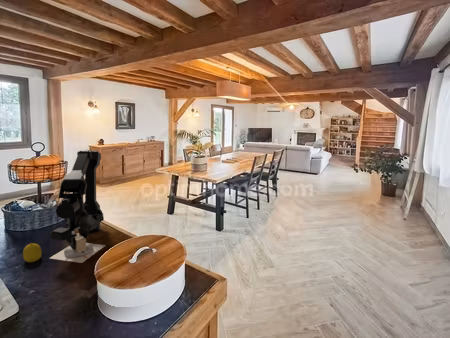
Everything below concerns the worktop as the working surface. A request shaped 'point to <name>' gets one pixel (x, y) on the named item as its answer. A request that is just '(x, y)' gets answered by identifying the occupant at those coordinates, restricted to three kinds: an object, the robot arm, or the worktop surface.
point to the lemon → (32, 252)
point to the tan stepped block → (79, 247)
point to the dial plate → (81, 258)
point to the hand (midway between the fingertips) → (78, 246)
